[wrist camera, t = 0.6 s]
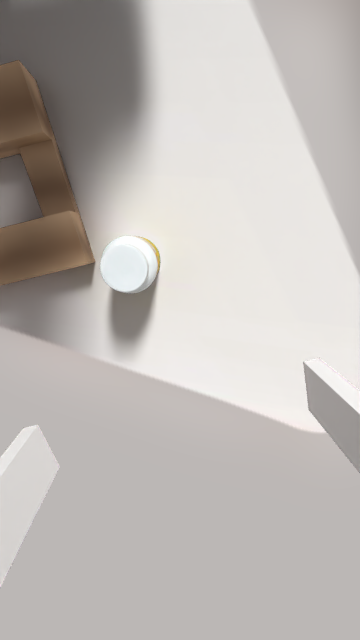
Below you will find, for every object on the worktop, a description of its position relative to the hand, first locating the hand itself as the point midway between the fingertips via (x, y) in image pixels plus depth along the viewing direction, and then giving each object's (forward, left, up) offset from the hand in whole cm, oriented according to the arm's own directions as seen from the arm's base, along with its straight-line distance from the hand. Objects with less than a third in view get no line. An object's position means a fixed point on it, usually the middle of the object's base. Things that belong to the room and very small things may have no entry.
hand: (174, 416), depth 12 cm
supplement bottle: (-7, -3, -21) cm, 22 cm away
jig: (-17, -15, -21) cm, 31 cm away
